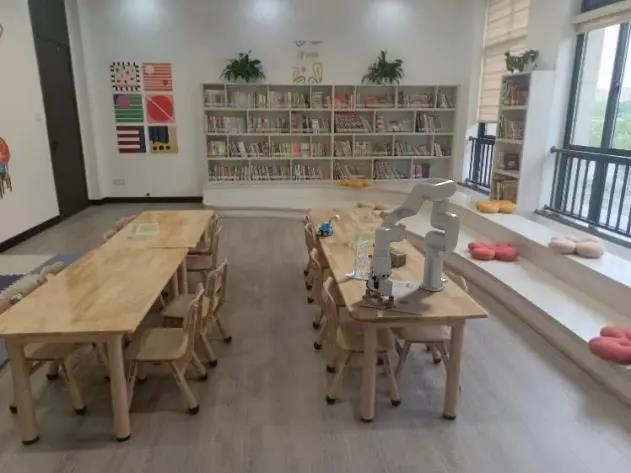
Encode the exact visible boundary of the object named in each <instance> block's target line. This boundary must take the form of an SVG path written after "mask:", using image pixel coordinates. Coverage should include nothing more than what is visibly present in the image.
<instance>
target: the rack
mask: <svg viewBox="0 0 631 473" xmlns="http://www.w3.org/2000/svg"><path fill="white" fill-rule="evenodd" d="M371 291H372V290H370V289H369V288H366V289H365V293H364V294H363V295H362V296H361V297H362V298H363V299H364V300H366V301H367V302H369V303H371V304H372V305H373V306H375V307H376V308H378V309H379V310H381V311H385V310H389V309H395V308H397V304H395V303H394V302H395V296H394V295H392V296H388V299H387V298H385V296H383V295H381V293H379V292H377V291H376V292H374V291H372V292H371Z"/></svg>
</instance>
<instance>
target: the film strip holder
mask: <svg viewBox="0 0 631 473" xmlns="http://www.w3.org/2000/svg"><path fill="white" fill-rule="evenodd" d="M362 248H366V250H365V252H364V253H361V254H359V251H360V249H362ZM368 253H369V240H368V239H367V240H365V241H363V242H360V243H358V244H355V248H354V257H355V258H354V262H353V263H354V264H353V266H354V269H353V270H352V271H351V272H348V273H345V274H344V275H345V276H344V277H348V278H353V279H355V280H359V281H361V280H362V281H365V280H366V278H365V276H364V275H365V274H368V275H369V273H370V270H368V265H369V266H370V263H371V261H370V259H369V255H368ZM362 264H365V266H364V269H362V268H361V267H360V266H361V265H362ZM358 268H359V269H358Z"/></svg>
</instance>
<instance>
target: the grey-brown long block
mask: <svg viewBox="0 0 631 473" xmlns="http://www.w3.org/2000/svg"><path fill="white" fill-rule="evenodd" d="M374 244H375V242H374V243H372V247H373V248H374ZM390 249H391V252H390V254H389V255H390V257H391V265H393V266H394V267H396V268H399V267H404V266H406V264H407V253H406V252H403V251H401V250H399V249H397V248H395V247H393V246H391V245H390Z"/></svg>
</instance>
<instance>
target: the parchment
mask: <svg viewBox="0 0 631 473" xmlns="http://www.w3.org/2000/svg"><path fill="white" fill-rule="evenodd" d="M364 281H365V285H366V286H367V288H368V289H369V290H370V291H372V292H376V290H374V289H373V288H371V287H369V286H368V279H365V280H364Z"/></svg>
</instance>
